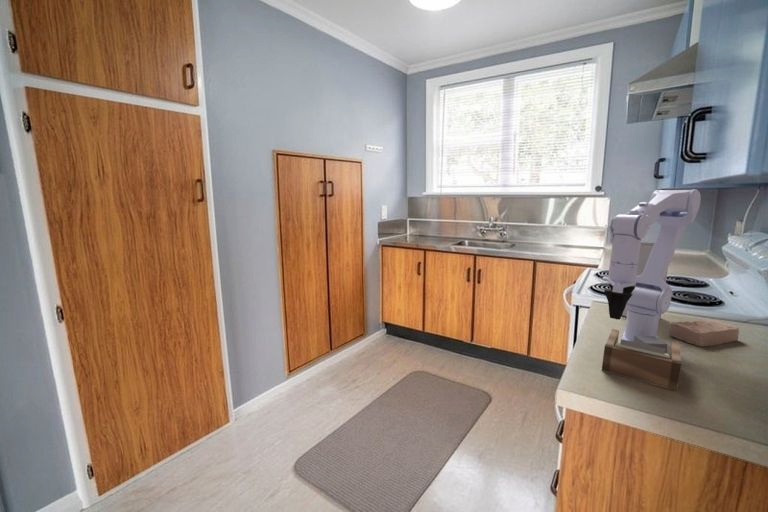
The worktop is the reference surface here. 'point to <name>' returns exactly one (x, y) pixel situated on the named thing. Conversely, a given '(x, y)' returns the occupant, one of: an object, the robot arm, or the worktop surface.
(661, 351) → the trapdoor
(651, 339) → the grey cube
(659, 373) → the frame
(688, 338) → the brick
